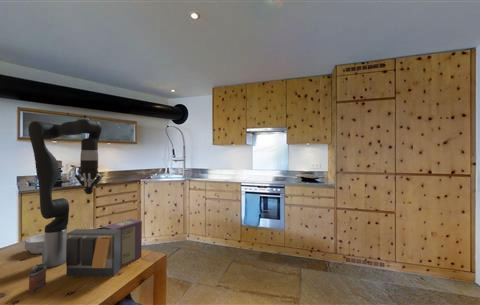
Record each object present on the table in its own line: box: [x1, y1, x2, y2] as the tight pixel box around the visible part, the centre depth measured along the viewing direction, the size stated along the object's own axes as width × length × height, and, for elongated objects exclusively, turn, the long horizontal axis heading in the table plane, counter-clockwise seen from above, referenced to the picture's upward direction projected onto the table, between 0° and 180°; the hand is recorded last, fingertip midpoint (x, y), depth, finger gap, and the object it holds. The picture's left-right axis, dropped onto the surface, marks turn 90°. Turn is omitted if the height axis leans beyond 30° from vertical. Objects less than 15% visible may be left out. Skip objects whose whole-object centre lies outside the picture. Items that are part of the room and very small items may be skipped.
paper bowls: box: [24, 233, 45, 255], centre depth 140 cm, size 15×15×8 cm
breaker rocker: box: [91, 239, 110, 268], centre depth 108 cm, size 5×3×12 cm, turn 90°
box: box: [102, 218, 143, 268], centre depth 127 cm, size 17×9×20 cm, turn 153°
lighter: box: [27, 262, 48, 295], centre depth 101 cm, size 8×3×10 cm, turn 5°
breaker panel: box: [65, 228, 121, 277], centre depth 113 cm, size 22×8×20 cm, turn 90°
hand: (88, 194), depth 119 cm, fingers closed
